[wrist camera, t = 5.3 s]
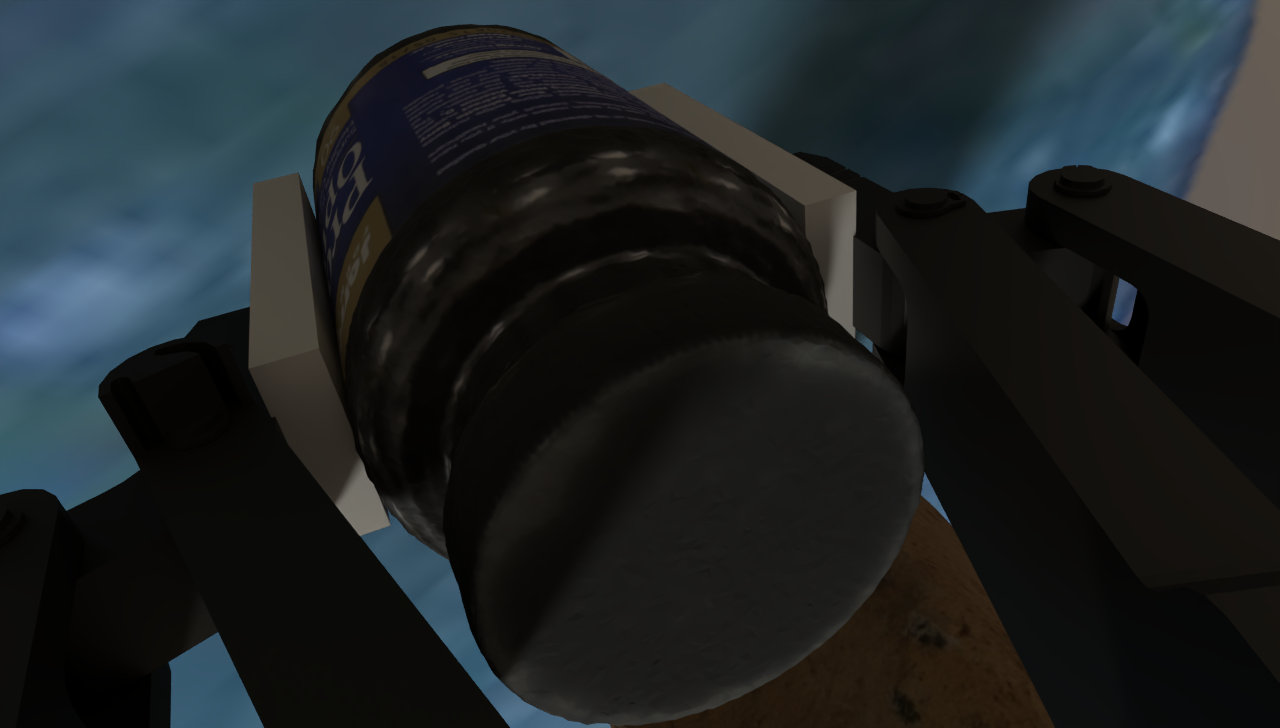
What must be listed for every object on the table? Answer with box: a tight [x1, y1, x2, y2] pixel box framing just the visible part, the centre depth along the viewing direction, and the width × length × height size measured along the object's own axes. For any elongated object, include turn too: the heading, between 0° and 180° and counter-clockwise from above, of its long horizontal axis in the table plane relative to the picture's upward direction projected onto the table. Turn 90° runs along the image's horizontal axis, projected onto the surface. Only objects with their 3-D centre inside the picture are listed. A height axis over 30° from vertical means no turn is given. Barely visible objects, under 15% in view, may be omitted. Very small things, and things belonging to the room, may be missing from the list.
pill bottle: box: [313, 24, 925, 726], centre depth 12 cm, size 6×6×11 cm
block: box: [610, 495, 1055, 728], centre depth 23 cm, size 11×8×20 cm
